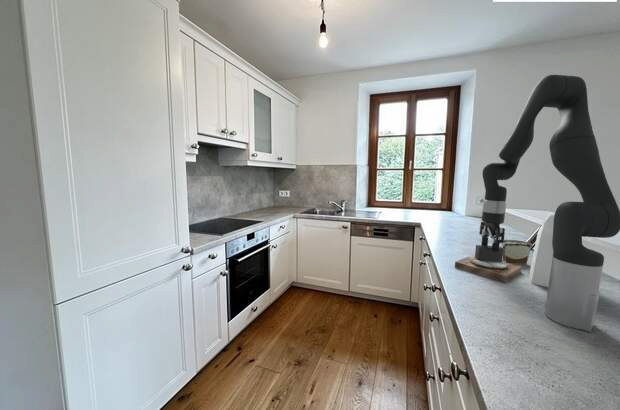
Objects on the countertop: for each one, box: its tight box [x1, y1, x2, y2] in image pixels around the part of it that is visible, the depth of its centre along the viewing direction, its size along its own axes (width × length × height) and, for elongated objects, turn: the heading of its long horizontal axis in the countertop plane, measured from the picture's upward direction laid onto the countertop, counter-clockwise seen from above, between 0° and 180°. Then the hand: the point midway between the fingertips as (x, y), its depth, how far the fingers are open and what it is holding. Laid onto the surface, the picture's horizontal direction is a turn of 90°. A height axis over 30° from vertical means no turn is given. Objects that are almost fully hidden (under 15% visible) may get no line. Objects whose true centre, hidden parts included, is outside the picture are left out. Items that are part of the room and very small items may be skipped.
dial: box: [469, 244, 507, 269], centre depth 103 cm, size 13×13×8 cm
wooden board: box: [454, 254, 522, 283], centre depth 104 cm, size 18×18×3 cm
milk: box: [528, 213, 555, 288], centre depth 90 cm, size 12×12×26 cm
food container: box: [500, 239, 533, 265], centre depth 114 cm, size 12×6×10 cm, turn 84°
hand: (489, 248), depth 103 cm, fingers open, 8 cm apart
